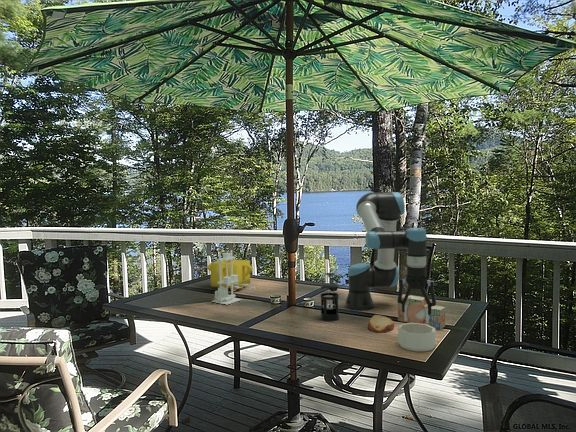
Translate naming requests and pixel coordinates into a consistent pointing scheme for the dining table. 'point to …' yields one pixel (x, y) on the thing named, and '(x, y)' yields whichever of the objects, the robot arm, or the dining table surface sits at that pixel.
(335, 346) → the dining table surface
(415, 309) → the toy ball
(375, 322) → the slice of bread
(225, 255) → the machine
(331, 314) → the french press
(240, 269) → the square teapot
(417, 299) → the stack of blocks
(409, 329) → the white bowl
